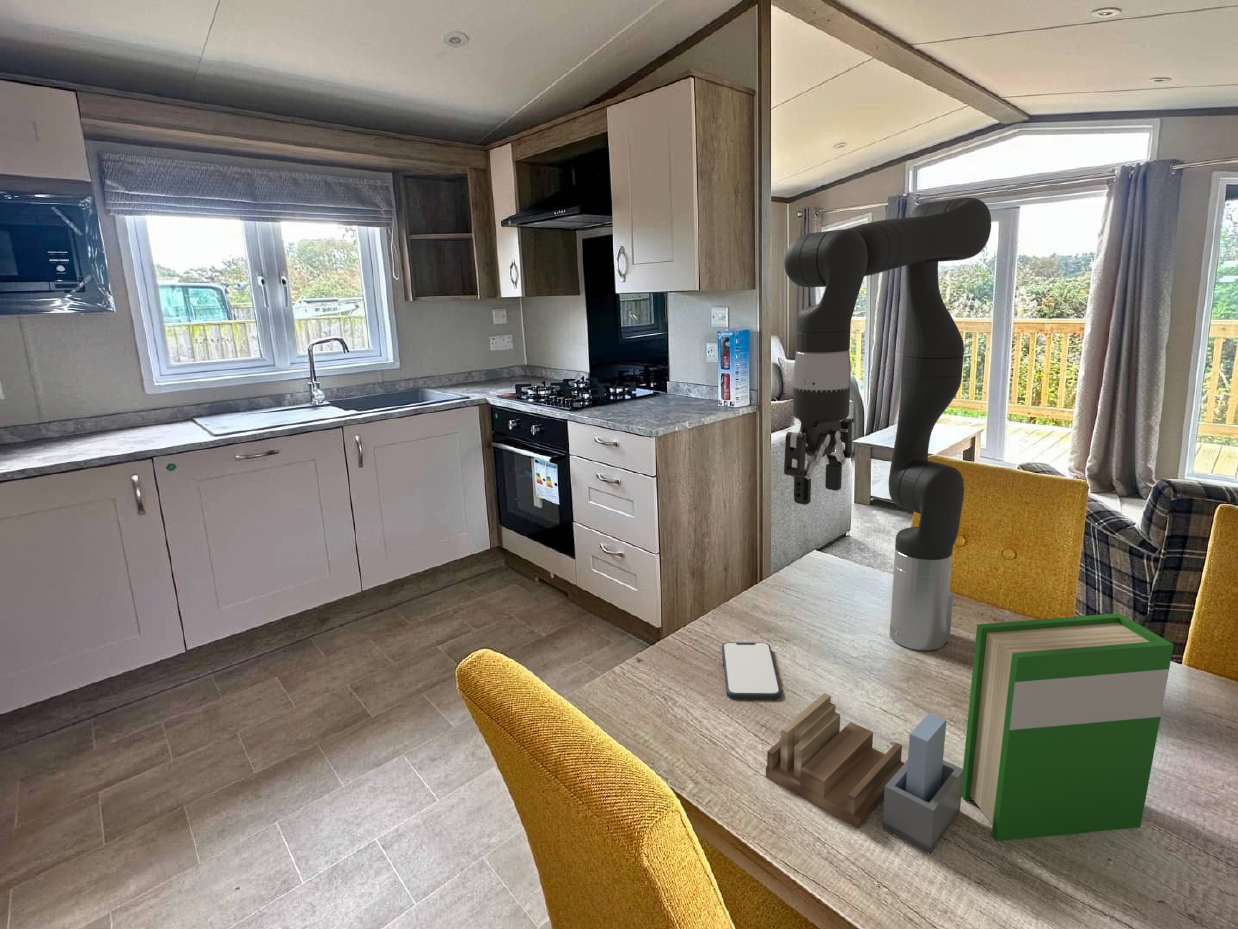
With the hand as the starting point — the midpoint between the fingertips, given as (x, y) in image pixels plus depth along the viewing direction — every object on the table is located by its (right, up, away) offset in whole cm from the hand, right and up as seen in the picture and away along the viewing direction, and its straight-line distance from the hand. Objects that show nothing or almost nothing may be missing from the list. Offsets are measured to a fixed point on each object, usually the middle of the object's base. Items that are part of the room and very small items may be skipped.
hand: (818, 496), depth 96 cm
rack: (0, -37, -7) cm, 38 cm away
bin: (+8, -39, -15) cm, 42 cm away
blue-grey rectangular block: (+8, -38, -15) cm, 41 cm away
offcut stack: (-2, -35, -5) cm, 35 cm away
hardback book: (+24, -38, -14) cm, 47 cm away
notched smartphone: (-6, -32, +18) cm, 37 cm away
